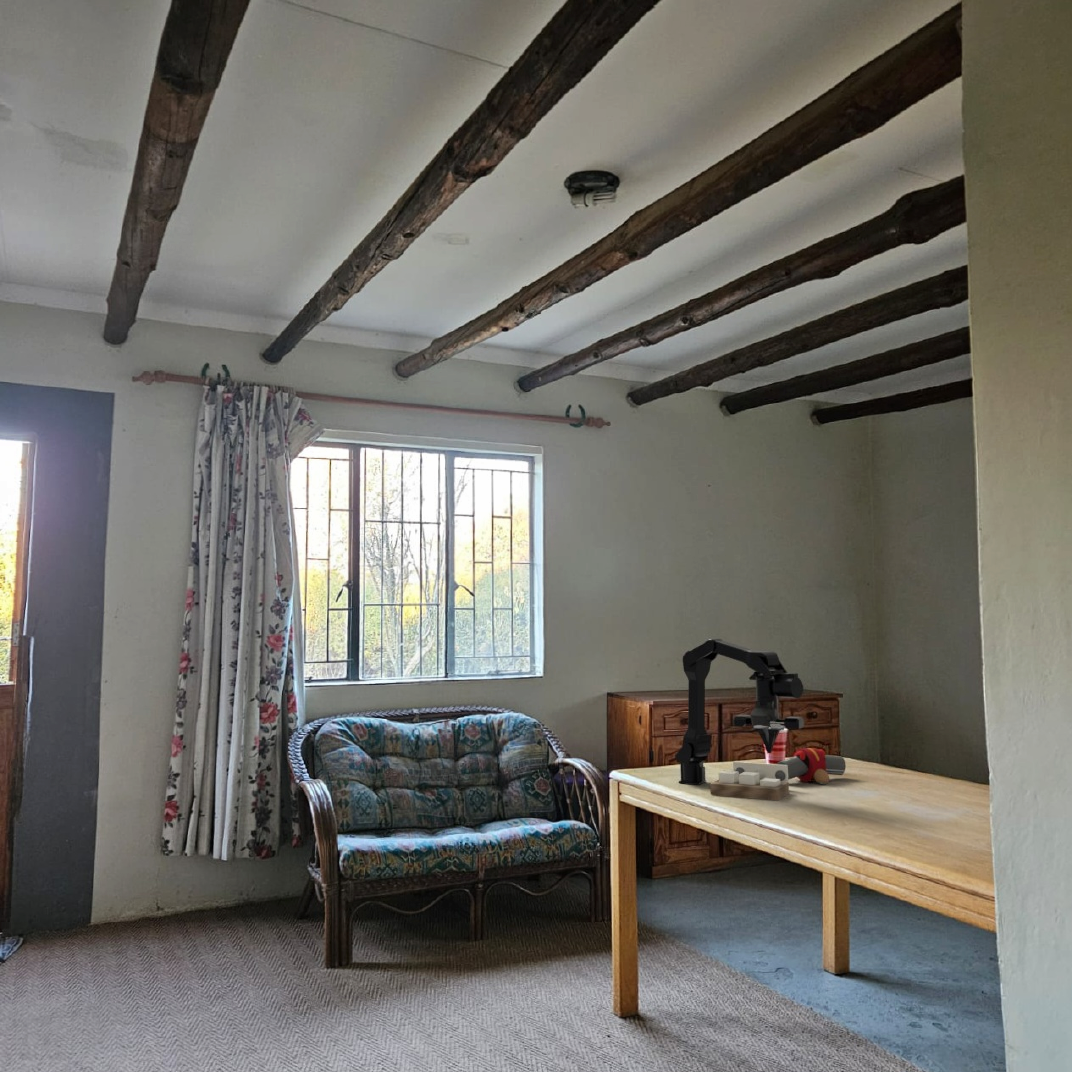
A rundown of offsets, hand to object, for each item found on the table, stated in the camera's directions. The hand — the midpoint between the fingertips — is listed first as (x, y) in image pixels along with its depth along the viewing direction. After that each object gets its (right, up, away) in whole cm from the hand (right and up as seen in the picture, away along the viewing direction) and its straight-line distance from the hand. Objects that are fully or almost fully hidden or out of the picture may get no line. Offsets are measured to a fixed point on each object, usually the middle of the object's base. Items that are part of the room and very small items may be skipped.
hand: (769, 753), depth 256 cm
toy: (+17, -14, +20) cm, 30 cm away
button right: (0, -11, -1) cm, 11 cm away
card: (0, -13, +11) cm, 17 cm away
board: (-5, -12, +2) cm, 13 cm away
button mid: (-5, -10, +2) cm, 12 cm away
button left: (-10, -11, +5) cm, 16 cm away
